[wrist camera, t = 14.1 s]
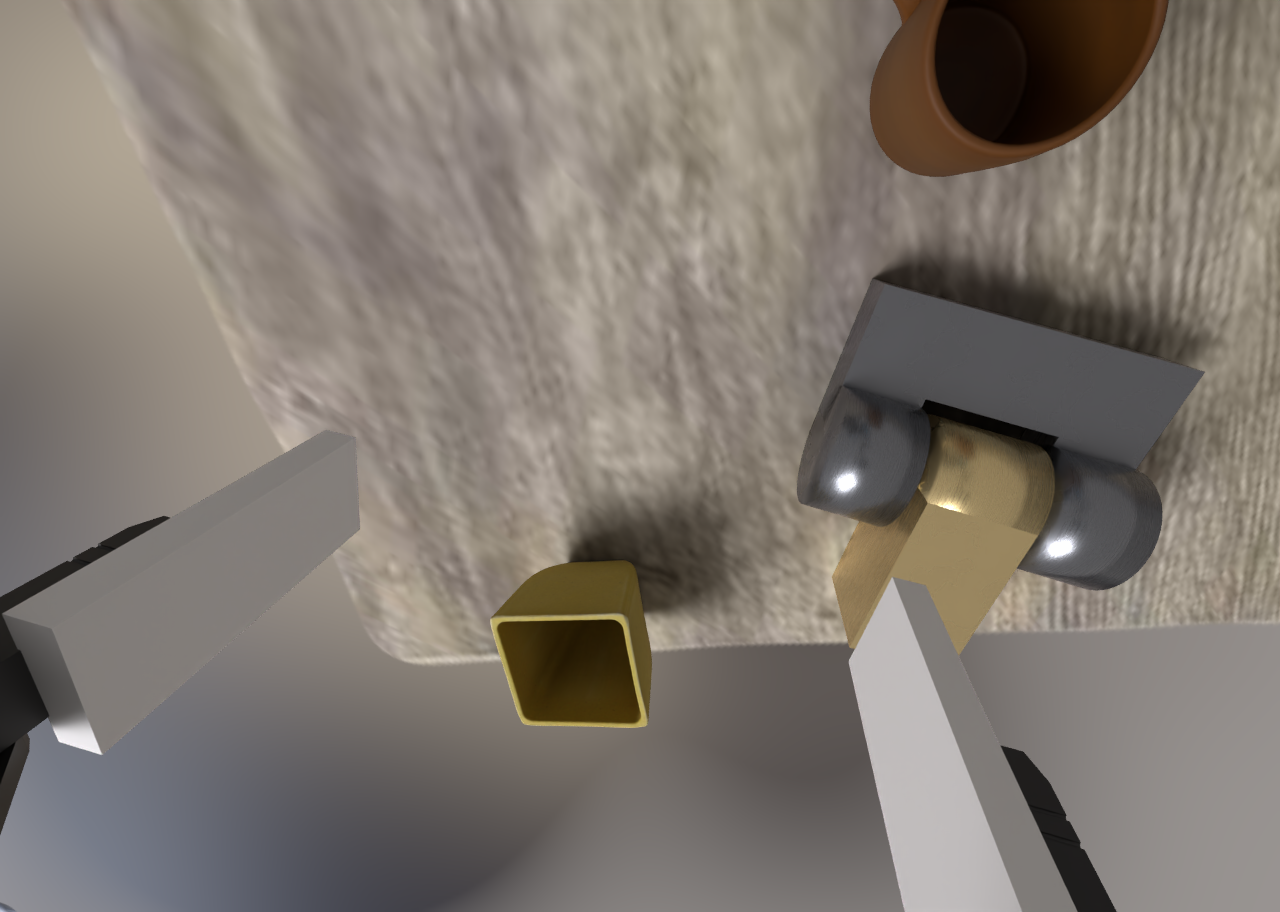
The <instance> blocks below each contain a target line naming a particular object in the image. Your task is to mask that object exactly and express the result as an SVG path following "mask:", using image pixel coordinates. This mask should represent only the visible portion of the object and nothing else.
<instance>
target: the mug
mask: <svg viewBox="0 0 1280 912" xmlns="http://www.w3.org/2000/svg"><path fill="white" fill-rule="evenodd" d="M893 1H894V3H895V4H896V6H897V8H898V10H899V13H900V16H901V20H902V26H901V27H900V29H899V30H898V31H897V32H896V34H895V35H894V37H893V38H892V40H891V41H890V43H889V44H888V46H887V48H886V49H885V51H884V53H883V55H882V57H881V59H880V61H879V64H878V66H877V69H876V72H875V75H874V79H873V82H872V87H871V94H870V117H871V123H872V128H873V131H874V134H875V137H876V139H877V141H878V143H879V145H880V147H881V148H882V150H883V151H884V152H885V154H886V155H887V156H888V157H889V158H890V159H891V160H892V161H893V162H894V163H896V164H897V165H899V166H900V167H901V168H903V169H905V170H907V171H909V172H912V173H915V174H918V175H923V176H930V177H944V176H952V175H958V174H963V173H968V172H975V171H980V170H985V169H990V168H994V167H999V166H1004V165H1008V164H1012V163H1016V162H1020V161H1023V160H1027V159H1029V158H1032V157H1034V156H1037V155H1039V154H1042V153H1044V152H1047V151H1049V150H1052V149H1054V148H1057V147H1059V146H1062V145H1064V144H1066V143H1067V142H1069V141H1071V140H1073V139H1075V138H1077V137H1079V136H1080V135H1082V134H1083V133H1085V132H1086V131H1088V130H1089V129H1091V128H1092V127H1093V126H1095V125H1096V124H1097V123H1098V122H1100V121H1101V120H1102V119H1103V118H1104V117H1106V116H1107V115H1108V114H1109V113H1110V112H1111V111H1112V110H1113V109H1114V108H1115V107H1116V106H1117V105H1118V104H1119V103H1120V102H1121V100H1122V99H1123V98H1124V97H1125V96H1126V94H1127V93H1128V92H1129V91H1130V90H1131V88H1132V87H1133V85H1134V84H1135V83H1136V81H1137V80H1138V78H1139V77H1140V75H1141V74H1142V72H1143V70H1144V69H1145V67H1146V65H1147V63H1148V62H1149V60H1150V58H1151V56H1152V54H1153V52H1154V49H1155V47H1156V45H1157V42H1158V40H1159V38H1160V35H1161V31H1162V28H1163V25H1164V22H1165V18H1166V12H1167V7H1168V1H1169V0H893Z"/></svg>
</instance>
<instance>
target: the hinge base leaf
mask: <svg viewBox="0 0 1280 912" xmlns="http://www.w3.org/2000/svg"><path fill="white" fill-rule="evenodd" d="M1204 373H1205V372H1203V371H1200V370H1197V369H1194V368H1191V367H1188V366H1185V365H1182V364H1179V363H1176V362H1173V361H1170V360H1167V359H1164V358H1160V357H1156V356H1153V355H1149V354H1146V353H1142V352H1138V351H1135V350H1131V349H1127V348H1124V347H1120V346H1116V345H1113V344H1109V343H1106V342H1102V341H1098V340H1095V339H1091V338H1087V337H1084V336H1080V335H1076V334H1073V333H1069V332H1066V331H1062V330H1058V329H1055V328H1051V327H1047V326H1044V325H1040V324H1037V323H1033V322H1029V321H1026V320H1022V319H1018V318H1015V317H1011V316H1007V315H1004V314H1000V313H997V312H993V311H989V310H986V309H982V308H978V307H975V306H971V305H968V304H964V303H960V302H957V301H953V300H949V299H946V298H942V297H938V296H935V295H931V294H928V293H924V292H920V291H917V290H913V289H909V288H906V287H902V286H898V285H895V284H891V283H888V282H884V281H880V280H877V279H872V281H871V283H870V286H869V288H868V291H867V293H866V296H865V298H864V301H863V303H862V305H861V308H860V310H859V313H858V315H857V318H856V320H855V322H854V325H853V327H852V330H851V332H850V335H849V337H848V339H847V342H846V344H845V347H844V349H843V352H842V354H841V356H840V359H839V361H838V364H837V366H836V369H835V371H834V373H833V376H832V378H831V381H830V383H829V386H828V388H827V391H826V393H825V395H824V398H823V400H822V403H821V405H820V408H819V411H818V413H817V415H816V418H815V420H814V422H813V425H812V427H811V430H810V432H809V435H808V438H807V441H806V444H805V447H804V451H803V455H802V458H801V463H800V468H799V473H798V481H797V496H798V500H799V502H800V503H801V504H804V505H808V506H811V507H814V508H818V509H821V510H824V511H828V512H831V513H834V514H838V515H841V516H844V517H848V518H851V519H854V520H858V521H861V522H864V523H868V524H871V525H874V526H878V527H885V526H887V525H889V524H891V523H892V522H893V521H895V520H896V519H897V518H898V517H899V516H900V515H901V513H902V512H903V511H904V510H905V508H906V507H907V505H908V504H909V502H910V500H911V499H912V497H913V495H914V493H915V491H916V489H917V487H918V485H919V482H920V480H921V477H922V474H923V471H924V468H925V465H926V461H927V457H928V452H929V446H930V422H929V418H928V416H927V413H926V412H925V411H924V410H923V409H922V406H923V404H924V402H925V400H926V399H927V400H931V401H934V402H938V403H941V404H945V405H948V406H952V407H955V408H959V409H962V410H966V411H969V412H973V413H976V414H980V415H983V416H987V417H990V418H994V419H997V420H1000V421H1004V422H1007V423H1011V424H1014V425H1018V426H1021V427H1025V428H1026V430H1025V432H1024V433H1023V435H1022V437H1021V438H1020V440H1022V441H1026V442H1029V443H1033V444H1036V445H1038V446H1040V447H1042V448H1043V449H1044V450H1045V451H1046V452H1047V454H1048V455H1049V457H1050V459H1051V461H1052V464H1053V468H1054V474H1055V491H1054V497H1053V502H1052V506H1051V510H1050V512H1049V515H1048V518H1047V520H1046V522H1045V524H1044V526H1043V528H1042V530H1041V532H1040V533H1039V535H1038V537H1037V538H1036V540H1035V541H1034V543H1033V544H1032V546H1031V547H1030V549H1029V550H1028V552H1027V553H1026V555H1025V556H1024V558H1023V559H1022V561H1021V562H1020V564H1019V565H1018V567H1017V569H1021V570H1024V571H1027V572H1031V573H1034V574H1037V575H1041V576H1044V577H1047V578H1051V579H1054V580H1057V581H1061V582H1064V583H1067V584H1071V585H1074V586H1077V587H1081V588H1084V589H1088V590H1105V589H1110V588H1113V587H1115V586H1118V585H1120V584H1122V583H1123V582H1125V581H1127V580H1128V579H1129V578H1131V577H1132V576H1133V575H1134V574H1136V573H1137V572H1138V571H1139V570H1140V569H1141V567H1142V566H1143V565H1144V564H1145V563H1146V561H1147V560H1148V558H1149V557H1150V555H1151V554H1152V552H1153V550H1154V548H1155V546H1156V543H1157V541H1158V538H1159V534H1160V531H1161V525H1162V504H1161V500H1160V496H1159V494H1158V491H1157V489H1156V487H1155V486H1154V484H1153V483H1152V481H1151V480H1150V479H1149V478H1148V477H1147V476H1145V475H1144V474H1143V473H1141V472H1139V471H1137V470H1136V468H1137V467H1138V466H1139V464H1140V463H1141V461H1142V460H1143V459H1144V457H1145V456H1146V454H1147V453H1148V452H1149V450H1150V449H1151V447H1152V446H1153V445H1154V443H1155V442H1156V440H1157V439H1158V438H1159V436H1160V435H1161V433H1162V432H1163V430H1164V429H1165V428H1166V426H1167V425H1168V423H1169V422H1170V421H1171V419H1172V418H1173V416H1174V415H1175V414H1176V412H1177V411H1178V409H1179V408H1180V407H1181V405H1182V404H1183V402H1184V401H1185V399H1186V398H1187V397H1188V395H1189V394H1190V392H1191V391H1192V390H1193V388H1194V387H1195V385H1196V384H1197V383H1198V381H1199V380H1200V378H1201V377H1202V376H1203V374H1204Z"/></svg>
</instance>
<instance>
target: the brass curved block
mask: <svg viewBox="0 0 1280 912" xmlns="http://www.w3.org/2000/svg"><path fill="white" fill-rule="evenodd" d="M927 416H928V418H929V422H930V446H929V452H928V457H927V461H926V465H925V468H924V471H923V474H922V477H921V480H920V482H919V485H918V487H917V489H916V491H915V493H914V495H913V497H912V499H911V500H910V502H909V504H908V505H907V507H906V508H905V510H904V511H903V512H902V513H901V515H900V516H899V517H898V518H897V519H896V520H895V521H893V522H892V523H891V524H889V525H887V526H885V527H878V526H874V525H871V524H868V523H864V522H861V521H859V523H858V525H857V527H856V529H855V531H854V533H853V535H852V537H851V539H850V541H849V543H848V545H847V547H846V549H845V551H844V553H843V555H842V557H841V559H840V562H839V564H838V566H837V568H836V570H835V572H834V574H833V576H832V579H833V583H834V587H835V591H836V595H837V599H838V603H839V607H840V611H841V615H842V619H843V623H844V627H845V631H846V635H847V639H848V643H849V647H850V648H854V649H855V648H856V646H857V644H858V642H859V640H860V639H861V637H862V635H863V633H864V631H865V629H866V627H867V625H868V623H869V621H870V619H871V617H872V615H873V613H874V611H875V609H876V607H877V605H878V604H879V602H880V600H881V598H882V596H883V594H884V592H885V590H886V588H887V586H888V584H889V582H890V580H891V578H892V577H895V578H899V579H903V580H907V581H911V582H915V583H918V584H922V585H926V587H927V589H928V591H929V593H930V595H931V598H932V600H933V602H934V604H935V606H936V608H937V611H938V613H939V615H940V617H941V619H942V621H943V623H944V626H945V628H946V630H947V632H948V634H949V636H950V639H951V641H952V643H953V645H954V647H955V649H956V651H957V654H958V656H959V654H960V653H961V651H962V650H963V648H964V647H965V645H966V644H967V642H968V641H969V639H970V638H971V636H972V635H973V633H974V632H975V630H976V629H977V627H978V626H979V624H980V623H981V621H982V620H983V618H984V617H985V615H986V614H987V612H988V611H989V609H990V608H991V606H992V605H993V603H994V602H995V600H996V599H997V597H998V595H999V594H1000V592H1001V591H1002V589H1003V588H1004V586H1005V585H1006V583H1007V582H1008V580H1009V579H1010V577H1011V576H1012V574H1013V573H1014V571H1015V570H1016V568H1017V567H1018V565H1019V564H1020V562H1021V561H1022V559H1023V558H1024V556H1025V555H1026V553H1027V552H1028V550H1029V549H1030V547H1031V546H1032V544H1033V543H1034V541H1035V540H1036V538H1037V537H1038V535H1039V533H1040V532H1041V530H1042V528H1043V526H1044V524H1045V522H1046V520H1047V518H1048V515H1049V512H1050V510H1051V506H1052V502H1053V497H1054V491H1055V474H1054V468H1053V464H1052V461H1051V459H1050V457H1049V455H1048V454H1047V452H1046V451H1045V450H1044V449H1043V448H1042V447H1040V446H1038V445H1036V444H1033V443H1029V442H1026V441H1022V440H1019V439H1015V438H1012V437H1008V436H1005V435H1001V434H998V433H994V432H991V431H987V430H984V429H980V428H977V427H973V426H970V425H966V424H963V423H960V422H956V421H953V420H949V419H946V418H942V417H939V416H935V415H931V414H928V415H927Z"/></svg>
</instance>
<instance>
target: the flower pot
mask: <svg viewBox="0 0 1280 912" xmlns="http://www.w3.org/2000/svg"><path fill="white" fill-rule="evenodd" d="M490 623H491V628H492V632H493V635H494V639H495V642H496V645H497V649H498V652H499V655H500V658H501V661H502V664H503V668H504V671H505V674H506V677H507V679H508V683H509V686H510V690H511V693H512V696H513V699H514V703H515V706H516V709H517V712H518V715H519V717H520V719H521V721H522V723H524V724H526V725H538V726H593V727H620V728H636V727H644V726H647V724H648V718H649V703H650V689H651V672H652V658H651V648H650V642H649V637H648V633H647V628H646V623H645V617H644V612H643V607H642V601H641V595H640V590H639V584H638V578H637V573H636V569H635V567H634V566H633V564H631V563H630V562H628V561H625V560H617V561H597V562H570V563H565V564H560V565H556V566H552V567H549V568H546V569H544V570H542V571H540V572H538V573H536V574H534V575H533V576H532V577H530V578H529V579H528V580H526V581H525V582H524V583H523V584H522V585H521V586H520V587H519V588H518V590H517V591H516V592H515V593H514V594H513V595H512V596H511V597H510V598H509V599H508V600H507V601H506V602H505V603H504V605H503V606H502V607H501V608H500V609H499V610H498V611H497V612H496V613H495V614H494V615H493V616H492V618H491V619H490Z"/></svg>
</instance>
